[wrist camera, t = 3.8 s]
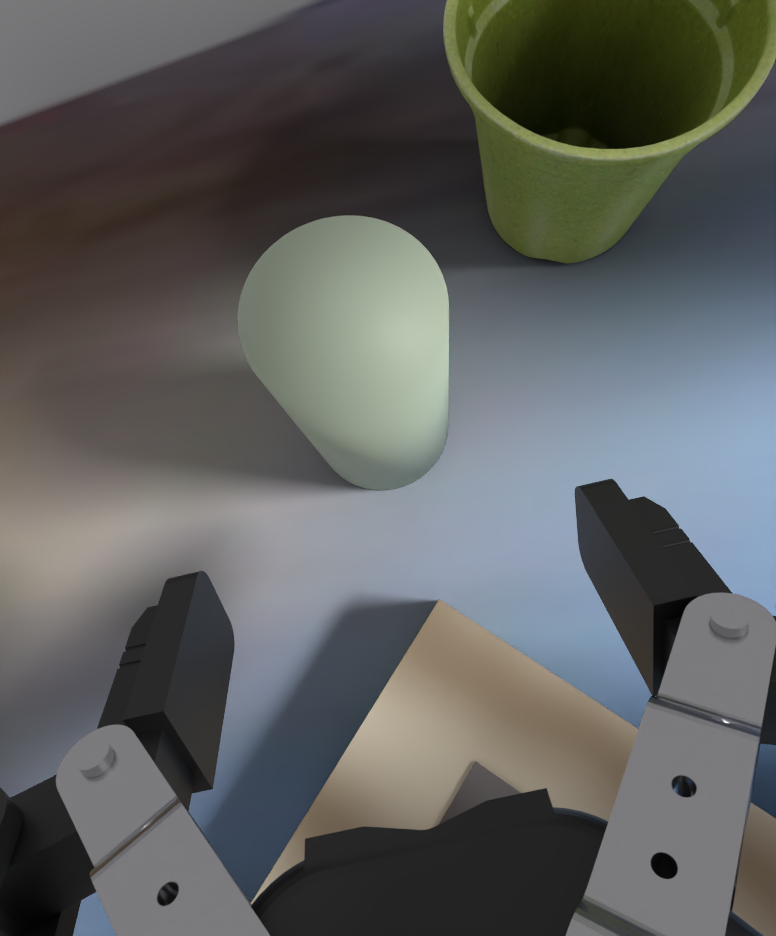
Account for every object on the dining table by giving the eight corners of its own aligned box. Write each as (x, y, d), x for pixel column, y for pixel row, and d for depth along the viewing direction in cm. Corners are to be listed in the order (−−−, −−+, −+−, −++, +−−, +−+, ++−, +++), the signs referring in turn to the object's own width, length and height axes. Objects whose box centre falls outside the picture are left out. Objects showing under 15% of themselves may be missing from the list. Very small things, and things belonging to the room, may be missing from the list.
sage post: (363, 341, 26) (314, 182, 16) (473, 404, 25) (489, 275, 15) (292, 446, 26) (196, 345, 16) (401, 515, 24) (372, 453, 15)
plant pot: (533, 348, 25) (575, 219, 17) (402, 180, 28) (383, -8, 19) (724, 222, 26) (858, 36, 17) (581, 67, 28) (639, -166, 20)
